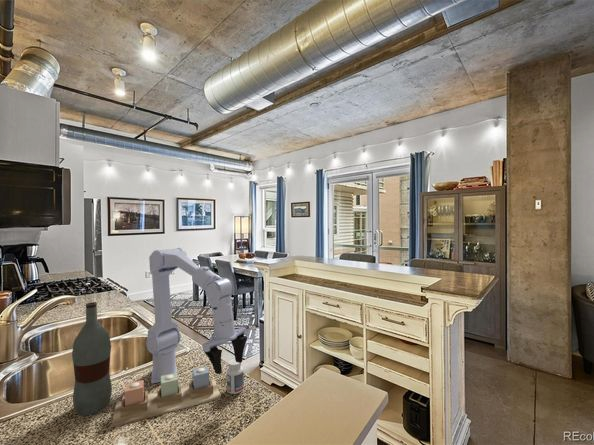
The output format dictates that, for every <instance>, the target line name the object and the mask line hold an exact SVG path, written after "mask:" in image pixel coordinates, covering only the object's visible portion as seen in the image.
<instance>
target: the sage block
mask: <svg viewBox="0 0 594 445" xmlns="http://www.w3.org/2000/svg"><path fill="white" fill-rule="evenodd" d="M177 375H178V372H177V373H173V374H168V375H163V376H161V382H160V387H161V398H162V397H166V396H170V395H174V394H178V383H179V382H178V381H179V379H178V377H177Z"/></svg>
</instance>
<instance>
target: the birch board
mask: <svg viewBox="0 0 594 445" xmlns="http://www.w3.org/2000/svg"><path fill="white" fill-rule="evenodd" d="M156 389H157V391H156V392H151V393H149V390H148V389H147V390H144V400H143V402H142V403H138V404H134V405H130V406H126V407H125V395H122V399H121V400H118V401H116V404H115V407H114V412H113V417H112V422H111V428H116V427H118V426H119V427H120V426H123V425H127V424H130V423H135V422H137V421H141V420H144V419H148V418H151V417H152V418H153V417H156V416H159V415H160V416H161V415H163V414H168V413H170V412H174V411H177V410H178V411H179V410H182V409H186V408H190V407H194V406H196V405H200V404H204V403H208V402H213V401H215V400H219V399H221V398H222V395H221V392H220V390H219V387H218V385H217V382H216V378H212V377H211V375H209V386H206V387H202V388H198V389H194V387H193V379H191V380H188V384H185V385H181V382H178V394H174V395H170V396H166V397H162V398H161V386H160V387H157V388H156Z"/></svg>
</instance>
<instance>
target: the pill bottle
mask: <svg viewBox="0 0 594 445" xmlns="http://www.w3.org/2000/svg"><path fill="white" fill-rule="evenodd" d="M227 366H228V368H227V369H226V392H227V393H228V394H231V395H236V394H240V393H241V392H243V391H244V388H245V385H244V380H245V379H244V373H245V372H244V367H243V366H242V362H241V363H239V362H236V360H235V358H233V359H230V360H228V363H227Z"/></svg>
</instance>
